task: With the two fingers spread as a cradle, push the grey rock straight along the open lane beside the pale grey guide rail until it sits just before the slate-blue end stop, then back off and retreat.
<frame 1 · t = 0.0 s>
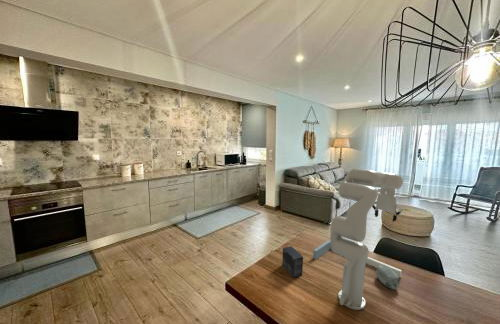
hand: (385, 218, 134), 31 cm above the table, fingers open, 9 cm apart
small box: (292, 270, 132), on the table
fence: (354, 268, 134), on the table
grey rock: (386, 283, 121), on the table
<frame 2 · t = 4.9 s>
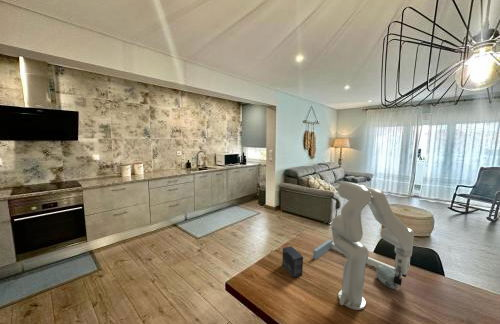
hand: (400, 279, 115), 5 cm above the table, fingers open, 9 cm apart
grey rock: (386, 282, 121), on the table, touching gripper
everything else where it was.
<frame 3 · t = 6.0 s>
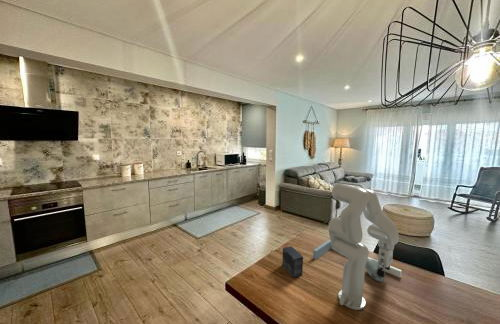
hand: (383, 272, 121), 5 cm above the table, fingers open, 9 cm apart
grey rock: (374, 276, 126), on the table
everything else where it was.
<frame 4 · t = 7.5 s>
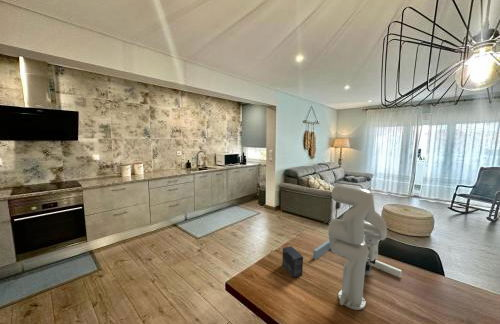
hand: (369, 266, 127), 5 cm above the table
grey rock: (361, 270, 132), on the table, touching gripper
everything else where it was.
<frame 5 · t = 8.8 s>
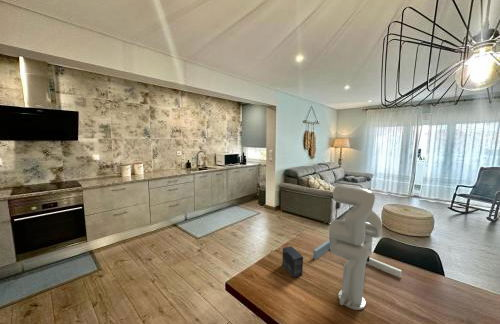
hand: (363, 263, 129), 5 cm above the table
grey rock: (355, 267, 134), on the table, touching gripper
everything else where it was.
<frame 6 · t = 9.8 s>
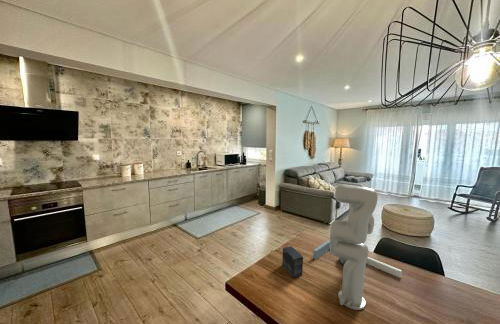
hand: (353, 259, 134), 5 cm above the table
grey rock: (346, 263, 139), on the table, touching gripper
everything else where it was.
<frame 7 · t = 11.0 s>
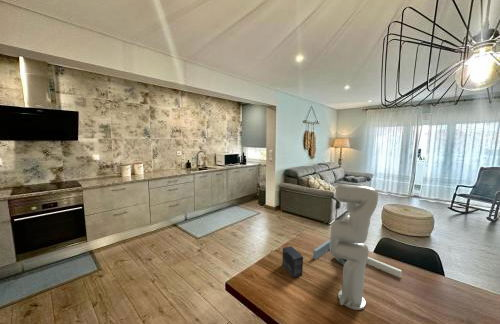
hand: (348, 257, 136), 5 cm above the table
grey rock: (341, 261, 141), on the table, touching gripper
everything else where it was.
when the fingers open (5 cm above the table, at t = 11.2 s): grey rock stays where it is, on the table.
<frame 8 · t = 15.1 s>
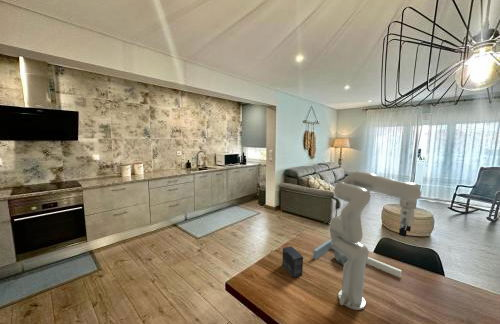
hand: (404, 233, 120), 28 cm above the table, fingers open, 9 cm apart
grey rock: (341, 261, 141), on the table
everything else where it was.
at the end: grey rock inside the target area (4.0 cm from its centre), on the table; grey rock moved 26.6 cm from its start; grey rock on the table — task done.
